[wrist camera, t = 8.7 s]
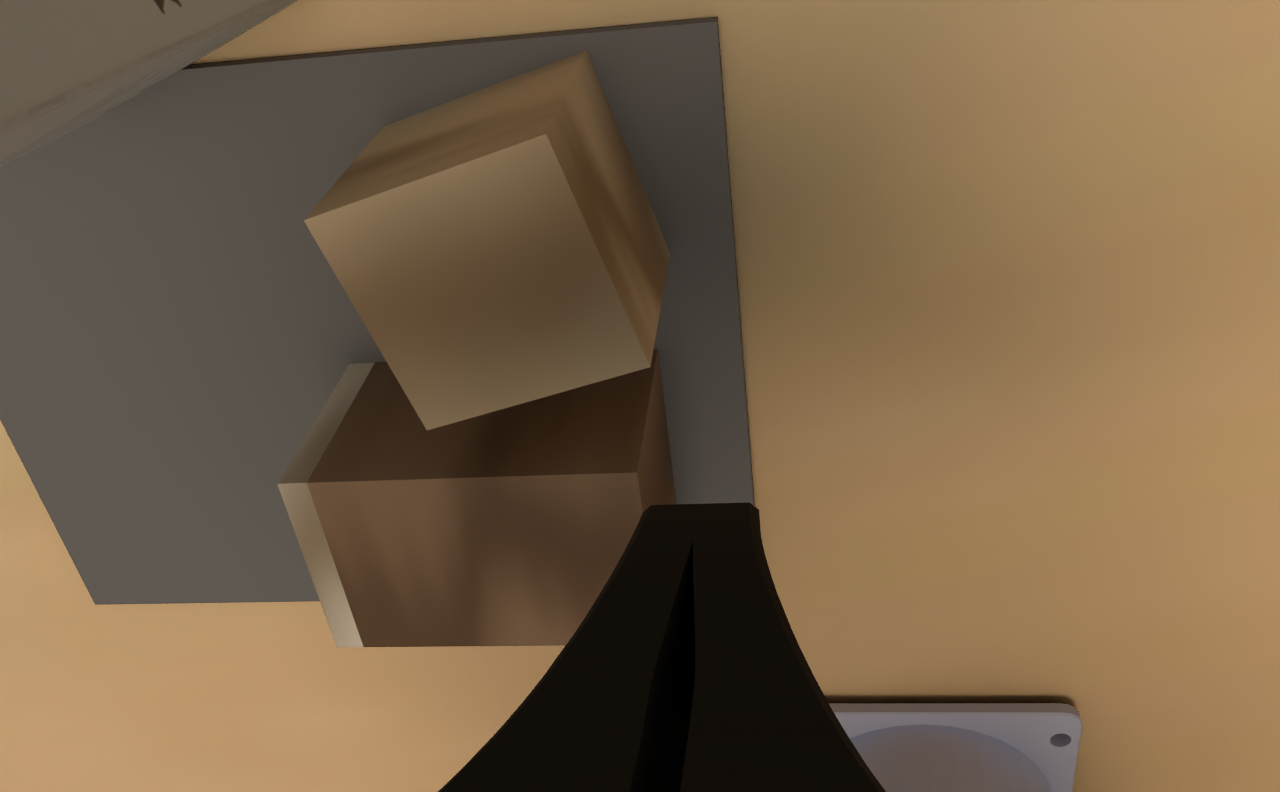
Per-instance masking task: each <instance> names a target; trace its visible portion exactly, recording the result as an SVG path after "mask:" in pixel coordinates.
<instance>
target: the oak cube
mask: <svg viewBox="0 0 1280 792" xmlns="http://www.w3.org/2000/svg"><path fill="white" fill-rule="evenodd" d="M304 222H305V224H306V225H307V227H308V229H309V230H310V232H311V234H312V235H313V237H314V239H315V241H316V242H317V244H318V246H319V247H320V249H321V251H322V253H323V254H324V256H325V258H326V259H327V261H328V263H329V264H330V266H331V268H332V270H333V271H334V273H335V275H336V276H337V278H338V280H339V281H340V283H341V285H342V287H343V288H344V290H345V292H346V293H347V295H348V297H349V299H350V300H351V302H352V304H353V305H354V307H355V309H356V310H357V312H358V314H359V316H360V317H361V319H362V321H363V322H364V324H365V326H366V328H367V329H368V331H369V333H370V334H371V336H372V338H373V339H374V341H375V343H376V345H377V346H378V348H379V350H380V351H381V353H382V355H383V356H384V358H385V360H386V362H387V363H388V365H389V367H390V368H391V370H392V372H393V374H394V375H395V377H396V379H397V380H398V382H399V384H400V385H401V387H402V389H403V391H404V392H405V394H406V396H407V397H408V399H409V401H410V403H411V404H412V406H413V408H414V409H415V411H416V413H417V414H418V416H419V418H420V420H421V421H422V423H423V425H424V426H425V428H426V430H431V429H434V428H438V427H441V426H445V425H448V424H452V423H455V422H459V421H462V420H466V419H469V418H473V417H476V416H480V415H483V414H487V413H490V412H494V411H497V410H501V409H505V408H508V407H512V406H515V405H519V404H522V403H526V402H529V401H533V400H536V399H540V398H543V397H547V396H550V395H554V394H557V393H561V392H564V391H568V390H572V389H575V388H579V387H582V386H586V385H589V384H593V383H596V382H600V381H603V380H607V379H610V378H614V377H617V376H621V375H624V374H628V373H631V372H635V371H639V370H642V369H646V368H649V367H651V361H652V355H653V350H654V344H655V338H656V332H657V327H658V321H659V315H660V310H661V304H662V298H663V292H664V287H665V281H666V275H667V269H668V264H669V258H670V252H669V249H668V247H667V245H666V242H665V240H664V237H663V235H662V232H661V230H660V228H659V225H658V223H657V220H656V218H655V215H654V213H653V211H652V208H651V206H650V203H649V201H648V198H647V196H646V194H645V191H644V189H643V186H642V184H641V181H640V179H639V177H638V174H637V172H636V169H635V167H634V164H633V162H632V160H631V157H630V155H629V152H628V150H627V147H626V145H625V143H624V140H623V138H622V135H621V133H620V130H619V128H618V126H617V123H616V121H615V118H614V116H613V113H612V111H611V109H610V106H609V104H608V101H607V99H606V96H605V94H604V92H603V89H602V87H601V84H600V82H599V79H598V77H597V75H596V72H595V70H594V67H593V65H592V62H591V60H590V58H589V55H588V53H587V50H585V51H583V52H580V53H577V54H575V55H572V56H569V57H567V58H564V59H561V60H559V61H556V62H553V63H551V64H548V65H545V66H543V67H540V68H537V69H535V70H532V71H529V72H527V73H524V74H521V75H519V76H516V77H513V78H511V79H508V80H505V81H503V82H500V83H498V84H495V85H492V86H490V87H487V88H484V89H482V90H479V91H476V92H474V93H471V94H468V95H466V96H463V97H460V98H458V99H455V100H452V101H450V102H447V103H444V104H442V105H439V106H436V107H434V108H431V109H428V110H426V111H423V112H420V113H418V114H415V115H412V116H410V117H407V118H404V119H402V120H399V121H396V122H394V123H391V124H388V125H386V126H383V127H382V128H381V129H380V130H379V131H378V132H377V134H376V135H375V136H374V137H373V138H372V140H371V141H370V142H369V143H368V144H367V146H366V147H365V148H364V149H363V150H362V152H361V153H360V154H359V155H358V156H357V157H356V159H355V160H354V161H353V162H352V163H351V165H350V166H349V167H348V168H347V169H346V171H345V172H344V173H343V174H342V175H341V177H340V178H339V179H338V180H337V181H336V183H335V184H334V185H333V186H332V187H331V189H330V190H329V191H328V192H327V193H326V194H325V196H324V197H323V198H322V199H321V200H320V202H319V203H318V204H317V205H316V206H315V208H314V209H313V210H312V211H311V212H310V214H309V215H308V216H307V217H306V218H305V220H304Z"/></svg>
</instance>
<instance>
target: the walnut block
mask: <svg viewBox="0 0 1280 792" xmlns="http://www.w3.org/2000/svg"><path fill="white" fill-rule="evenodd" d="M277 485H278V487H279V490H280V493H281V496H282V498H283V501H284V504H285V507H286V509H287V512H288V515H289V518H290V520H291V523H292V526H293V529H294V531H295V534H296V537H297V540H298V542H299V545H300V548H301V550H302V553H303V556H304V559H305V561H306V564H307V567H308V570H309V572H310V575H311V578H312V581H313V583H314V586H315V589H316V592H317V594H318V597H319V600H320V603H321V605H322V608H323V611H324V614H325V616H326V619H327V622H328V625H329V627H330V630H331V633H332V636H333V638H334V641H335V644H336V646H337V647H422V646H538V645H566V644H567V643H568V642H569V640H570V639H571V637H572V636H573V635H574V633H575V632H576V630H577V629H578V627H579V626H580V624H581V623H582V621H583V620H584V618H585V617H586V615H587V613H588V612H589V610H590V609H591V607H592V605H593V604H594V602H595V601H596V599H597V597H598V596H599V594H600V593H601V591H602V589H603V588H604V586H605V584H606V583H607V581H608V579H609V578H610V576H611V574H612V572H613V571H614V569H615V567H616V565H617V564H618V562H619V560H620V558H621V556H622V555H623V553H624V551H625V549H626V547H627V545H628V543H629V541H630V539H631V537H632V535H633V533H634V531H635V529H636V527H637V525H638V523H639V520H640V518H641V516H642V514H643V512H644V511H645V510H646V509H647V508H648V507H649V506H651V505H672V504H677V501H676V493H675V485H674V477H673V469H672V461H671V452H670V444H669V436H668V428H667V420H666V412H665V404H664V395H663V387H662V379H661V371H660V363H659V355H658V349H654V350H653V355H652V361H651V367H649V368H646V369H642V370H639V371H635V372H631V373H628V374H624V375H621V376H617V377H614V378H610V379H607V380H603V381H600V382H596V383H593V384H589V385H586V386H582V387H579V388H575V389H572V390H568V391H564V392H561V393H557V394H554V395H550V396H547V397H543V398H540V399H536V400H533V401H529V402H526V403H522V404H519V405H515V406H512V407H508V408H505V409H501V410H497V411H494V412H490V413H487V414H483V415H480V416H476V417H473V418H469V419H466V420H462V421H459V422H455V423H452V424H448V425H445V426H441V427H438V428H434V429H431V430H426V428H425V426H424V425H423V423H422V421H421V420H420V418H419V416H418V414H417V413H416V411H415V409H414V408H413V406H412V404H411V403H410V401H409V399H408V397H407V396H406V394H405V392H404V391H403V389H402V387H401V385H400V384H399V382H398V380H397V379H396V377H395V375H394V374H393V372H392V370H391V368H390V367H389V365H388V363H387V362H376V363H355V364H349V365H348V367H347V369H346V370H345V372H344V374H343V375H342V377H341V379H340V380H339V382H338V384H337V385H336V387H335V389H334V390H333V392H332V394H331V395H330V397H329V399H328V400H327V402H326V404H325V405H324V407H323V409H322V410H321V412H320V414H319V415H318V417H317V419H316V420H315V422H314V424H313V425H312V427H311V429H310V430H309V432H308V433H307V435H306V437H305V438H304V440H303V442H302V443H301V445H300V447H299V448H298V450H297V452H296V453H295V455H294V457H293V458H292V460H291V462H290V463H289V465H288V467H287V468H286V470H285V472H284V473H283V475H282V477H281V478H280V480H279V482H278V483H277Z"/></svg>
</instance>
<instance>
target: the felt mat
mask: <svg viewBox="0 0 1280 792" xmlns="http://www.w3.org/2000/svg"><path fill="white" fill-rule="evenodd" d="M585 50H587V53H588V55H589V58H590V60H591V62H592V65H593V67H594V70H595V72H596V75H597V77H598V79H599V82H600V84H601V87H602V89H603V92H604V94H605V96H606V99H607V101H608V104H609V106H610V109H611V111H612V113H613V116H614V118H615V121H616V123H617V126H618V128H619V130H620V133H621V135H622V138H623V140H624V143H625V145H626V147H627V150H628V152H629V155H630V157H631V160H632V162H633V164H634V167H635V169H636V172H637V174H638V177H639V179H640V181H641V184H642V186H643V189H644V191H645V194H646V196H647V198H648V201H649V203H650V206H651V208H652V211H653V213H654V215H655V218H656V220H657V223H658V225H659V228H660V230H661V232H662V235H663V237H664V240H665V242H666V245H667V247H668V249H669V252H670V258H669V264H668V269H667V275H666V281H665V287H664V292H663V298H662V304H661V310H660V315H659V321H658V327H657V332H656V338H655V344H654V349H658V355H659V363H660V371H661V379H662V387H663V395H664V404H665V412H666V420H667V428H668V436H669V444H670V452H671V461H672V469H673V477H674V485H675V493H676V501H677V504H709V503H746V502H749V503H751V504H752V505H753V506H754V493H753V480H752V467H751V453H750V440H749V427H748V414H747V400H746V387H745V374H744V361H743V347H742V334H741V321H740V308H739V294H738V281H737V268H736V255H735V241H734V228H733V215H732V202H731V189H730V175H729V162H728V149H727V136H726V122H725V109H724V96H723V83H722V69H721V56H720V43H719V30H718V17H712V18H701V19H690V20H679V21H668V22H657V23H646V24H635V25H624V26H613V27H602V28H591V29H580V30H569V31H558V32H547V33H536V34H525V35H514V36H503V37H492V38H481V39H470V40H459V41H448V42H437V43H426V44H415V45H404V46H393V47H382V48H371V49H360V50H349V51H338V52H327V53H316V54H305V55H294V56H283V57H272V58H261V59H250V60H239V61H228V62H217V63H206V64H195V65H188V66H186V67H184V68H182V69H181V70H179V71H177V72H176V73H174V74H172V75H170V76H169V77H167V78H165V79H164V80H162V81H160V82H158V83H157V84H155V85H153V86H152V87H150V88H148V89H146V90H145V91H143V92H141V93H140V94H138V95H136V96H135V97H133V98H131V99H129V100H128V101H126V102H124V103H123V104H121V105H119V106H117V107H116V108H114V109H112V110H111V111H109V112H107V113H106V114H104V115H102V116H100V117H98V118H96V119H94V120H92V121H90V122H88V123H87V124H85V125H83V126H81V127H79V128H77V129H75V130H73V131H71V132H69V133H67V134H65V135H63V136H61V137H58V138H56V139H54V140H52V141H50V142H48V143H46V144H44V145H42V146H40V147H38V148H36V149H34V150H32V151H30V152H28V153H26V154H24V155H22V156H20V157H18V158H16V159H14V160H12V161H10V162H8V163H6V164H4V165H2V166H0V420H1V422H2V424H3V426H4V428H5V430H6V432H7V434H8V435H9V437H10V439H11V441H12V443H13V445H14V447H15V449H16V451H17V453H18V455H19V457H20V459H21V461H22V463H23V465H24V467H25V469H26V471H27V472H28V474H29V476H30V478H31V480H32V482H33V484H34V486H35V488H36V490H37V492H38V494H39V496H40V498H41V500H42V502H43V504H44V506H45V508H46V510H47V511H48V513H49V515H50V517H51V519H52V521H53V523H54V525H55V527H56V529H57V531H58V533H59V535H60V537H61V539H62V541H63V543H64V545H65V547H66V548H67V550H68V552H69V554H70V556H71V558H72V560H73V562H74V564H75V566H76V568H77V570H78V572H79V574H80V576H81V578H82V580H83V582H84V584H85V586H86V587H87V589H88V591H89V593H90V595H91V597H92V599H93V601H94V603H95V605H97V604H163V603H229V602H296V601H320V600H319V597H318V594H317V592H316V589H315V586H314V583H313V581H312V578H311V575H310V572H309V570H308V567H307V564H306V561H305V559H304V556H303V553H302V550H301V548H300V545H299V542H298V540H297V537H296V534H295V531H294V529H293V526H292V523H291V520H290V518H289V515H288V512H287V509H286V507H285V504H284V501H283V498H282V496H281V493H280V490H279V487H278V485H277V483H278V482H279V480H280V478H281V477H282V475H283V473H284V472H285V470H286V468H287V467H288V465H289V463H290V462H291V460H292V458H293V457H294V455H295V453H296V452H297V450H298V448H299V447H300V445H301V443H302V442H303V440H304V438H305V437H306V435H307V433H308V432H309V430H310V429H311V427H312V425H313V424H314V422H315V420H316V419H317V417H318V415H319V414H320V412H321V410H322V409H323V407H324V405H325V404H326V402H327V400H328V399H329V397H330V395H331V394H332V392H333V390H334V389H335V387H336V385H337V384H338V382H339V380H340V379H341V377H342V375H343V374H344V372H345V370H346V369H347V367H348V365H349V364H355V363H376V362H386V360H385V358H384V356H383V355H382V353H381V351H380V350H379V348H378V346H377V345H376V343H375V341H374V339H373V338H372V336H371V334H370V333H369V331H368V329H367V328H366V326H365V324H364V322H363V321H362V319H361V317H360V316H359V314H358V312H357V310H356V309H355V307H354V305H353V304H352V302H351V300H350V299H349V297H348V295H347V293H346V292H345V290H344V288H343V287H342V285H341V283H340V281H339V280H338V278H337V276H336V275H335V273H334V271H333V270H332V268H331V266H330V264H329V263H328V261H327V259H326V258H325V256H324V254H323V253H322V251H321V249H320V247H319V246H318V244H317V242H316V241H315V239H314V237H313V235H312V234H311V232H310V230H309V229H308V227H307V225H306V224H305V222H304V220H305V218H306V217H307V216H308V215H309V214H310V212H311V211H312V210H313V209H314V208H315V206H316V205H317V204H318V203H319V202H320V200H321V199H322V198H323V197H324V196H325V194H326V193H327V192H328V191H329V190H330V189H331V187H332V186H333V185H334V184H335V183H336V181H337V180H338V179H339V178H340V177H341V175H342V174H343V173H344V172H345V171H346V169H347V168H348V167H349V166H350V165H351V163H352V162H353V161H354V160H355V159H356V157H357V156H358V155H359V154H360V153H361V152H362V150H363V149H364V148H365V147H366V146H367V144H368V143H369V142H370V141H371V140H372V138H373V137H374V136H375V135H376V134H377V132H378V131H379V130H380V129H381V128H382V127H383V126H386V125H388V124H391V123H394V122H396V121H399V120H402V119H404V118H407V117H410V116H412V115H415V114H418V113H420V112H423V111H426V110H428V109H431V108H434V107H436V106H439V105H442V104H444V103H447V102H450V101H452V100H455V99H458V98H460V97H463V96H466V95H468V94H471V93H474V92H476V91H479V90H482V89H484V88H487V87H490V86H492V85H495V84H498V83H500V82H503V81H505V80H508V79H511V78H513V77H516V76H519V75H521V74H524V73H527V72H529V71H532V70H535V69H537V68H540V67H543V66H545V65H548V64H551V63H553V62H556V61H559V60H561V59H564V58H567V57H569V56H572V55H575V54H577V53H580V52H583V51H585Z"/></svg>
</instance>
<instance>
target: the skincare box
mask: <svg viewBox="0 0 1280 792" xmlns="http://www.w3.org/2000/svg"><path fill="white" fill-rule="evenodd" d="M295 1H297V0H0V166H2V165H4V164H6V163H8V162H10V161H12V160H14V159H16V158H18V157H20V156H22V155H24V154H26V153H28V152H30V151H32V150H34V149H36V148H38V147H40V146H42V145H44V144H46V143H48V142H50V141H52V140H54V139H56V138H58V137H61V136H63V135H65V134H67V133H69V132H71V131H73V130H75V129H77V128H79V127H81V126H83V125H85V124H87V123H88V122H90V121H92V120H94V119H96V118H98V117H100V116H102V115H104V114H106V113H107V112H109V111H111V110H112V109H114V108H116V107H117V106H119V105H121V104H123V103H124V102H126V101H128V100H129V99H131V98H133V97H135V96H136V95H138V94H140V93H141V92H143V91H145V90H146V89H148V88H150V87H152V86H153V85H155V84H157V83H158V82H160V81H162V80H164V79H165V78H167V77H169V76H170V75H172V74H174V73H176V72H177V71H179V70H181V69H182V68H184V67H186V66H188V65H189V64H191V63H193V62H194V61H196V60H198V59H200V58H201V57H203V56H205V55H206V54H208V53H210V52H212V51H213V50H215V49H217V48H218V47H220V46H222V45H224V44H225V43H227V42H229V41H230V40H232V39H234V38H235V37H237V36H239V35H240V34H242V33H244V32H245V31H247V30H249V29H250V28H252V27H254V26H255V25H257V24H259V23H260V22H262V21H264V20H265V19H267V18H269V17H270V16H272V15H274V14H275V13H277V12H279V11H280V10H282V9H284V8H285V7H287V6H289V5H290V4H292V3H294V2H295Z"/></svg>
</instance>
